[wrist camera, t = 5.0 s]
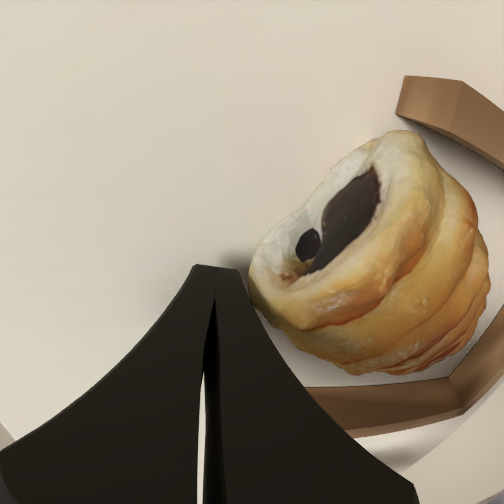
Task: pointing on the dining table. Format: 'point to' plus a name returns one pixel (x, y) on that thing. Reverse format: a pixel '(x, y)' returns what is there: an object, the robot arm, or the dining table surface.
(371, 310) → the pastry
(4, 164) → the dining table surface
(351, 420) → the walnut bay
